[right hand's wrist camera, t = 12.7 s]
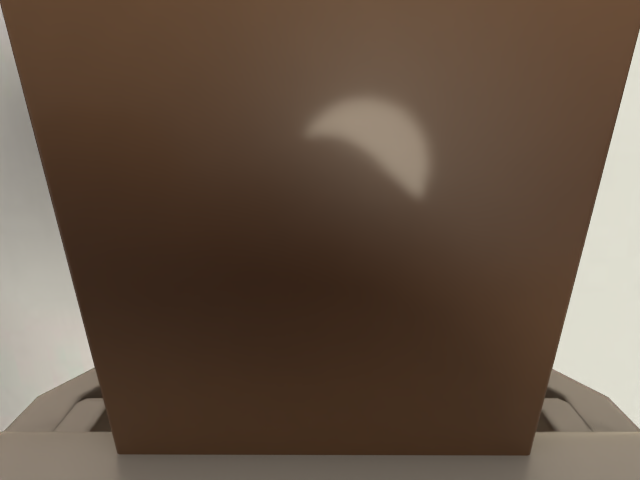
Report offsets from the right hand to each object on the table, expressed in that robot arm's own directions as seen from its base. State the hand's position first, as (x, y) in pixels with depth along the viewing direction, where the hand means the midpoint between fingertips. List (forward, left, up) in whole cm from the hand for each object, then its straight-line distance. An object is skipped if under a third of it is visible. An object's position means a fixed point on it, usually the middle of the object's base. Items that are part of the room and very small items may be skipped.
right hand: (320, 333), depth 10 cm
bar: (0, +10, -3) cm, 10 cm away
